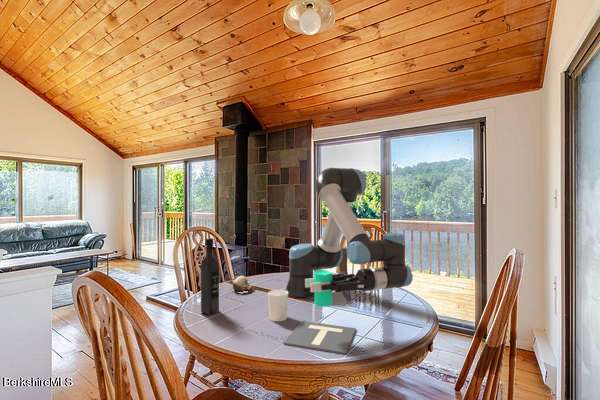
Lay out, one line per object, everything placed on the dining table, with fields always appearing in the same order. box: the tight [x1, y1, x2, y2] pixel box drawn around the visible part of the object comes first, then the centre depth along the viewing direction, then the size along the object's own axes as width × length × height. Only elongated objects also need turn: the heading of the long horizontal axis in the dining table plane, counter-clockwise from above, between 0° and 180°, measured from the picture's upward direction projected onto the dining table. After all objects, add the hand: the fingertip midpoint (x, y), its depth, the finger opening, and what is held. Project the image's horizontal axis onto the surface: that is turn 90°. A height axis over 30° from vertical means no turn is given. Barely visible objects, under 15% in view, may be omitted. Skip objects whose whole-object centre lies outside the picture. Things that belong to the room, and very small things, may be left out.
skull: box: [232, 275, 255, 293], centre depth 155 cm, size 12×10×10 cm
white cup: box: [267, 289, 289, 323], centre depth 119 cm, size 8×8×10 cm
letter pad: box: [283, 320, 357, 355], centre depth 103 cm, size 20×18×1 cm
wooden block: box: [337, 247, 349, 275], centre depth 172 cm, size 9×4×18 cm, turn 179°
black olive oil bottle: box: [200, 238, 220, 315], centre depth 125 cm, size 6×6×30 cm
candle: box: [313, 269, 333, 307], centre depth 102 cm, size 6×6×12 cm
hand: (308, 285), depth 101 cm, fingers closed on candle, 5 cm apart
